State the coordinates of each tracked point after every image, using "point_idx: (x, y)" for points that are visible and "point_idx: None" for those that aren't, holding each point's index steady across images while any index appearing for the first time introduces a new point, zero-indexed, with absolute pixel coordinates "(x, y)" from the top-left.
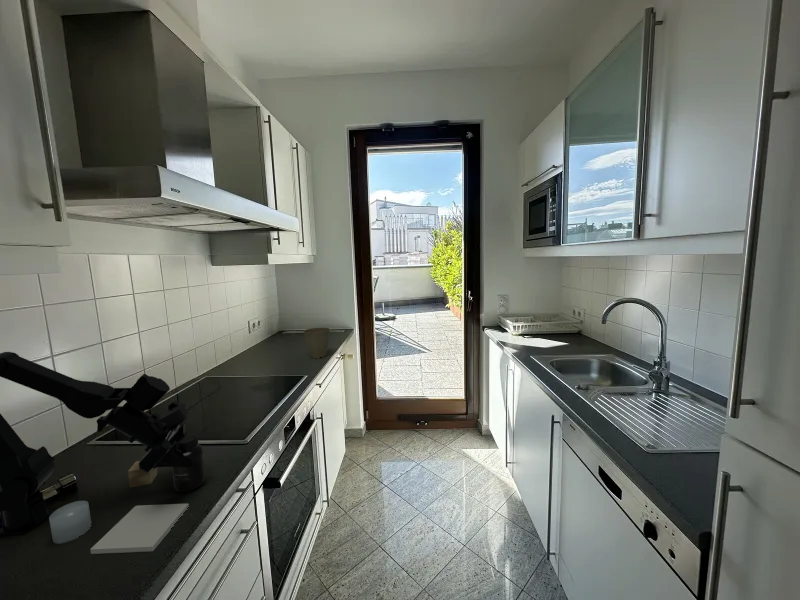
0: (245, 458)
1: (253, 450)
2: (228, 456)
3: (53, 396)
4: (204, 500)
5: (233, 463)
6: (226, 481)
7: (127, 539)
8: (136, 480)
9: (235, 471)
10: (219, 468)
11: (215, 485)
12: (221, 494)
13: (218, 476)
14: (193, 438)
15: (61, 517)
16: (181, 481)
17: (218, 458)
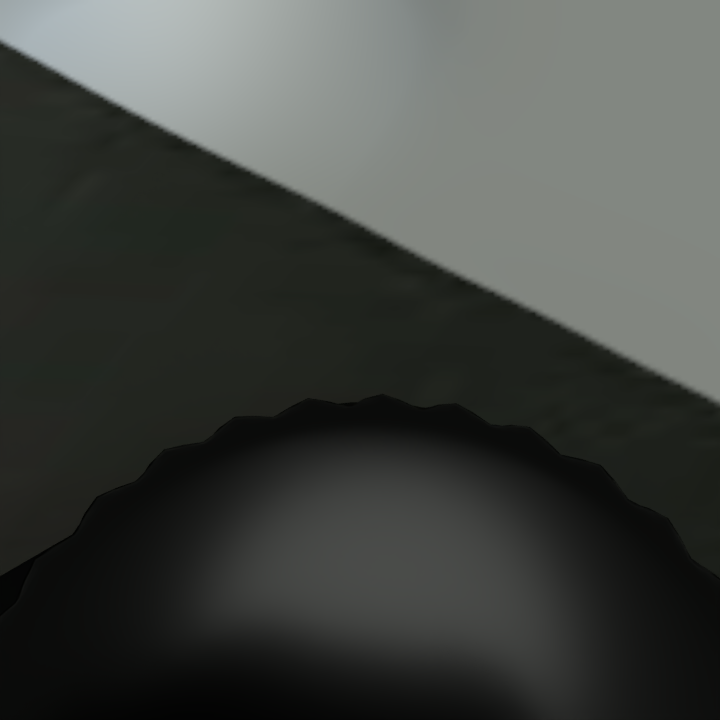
0: (180, 170)
1: (87, 105)
2: (35, 292)
3: None
4: (688, 509)
5: (199, 261)
6: (472, 328)
7: None
8: None
9: (349, 254)
10: (207, 374)
11: (488, 415)
12: (657, 374)
13: (347, 387)
14: (492, 536)
15: None
16: None
17: (4, 376)
